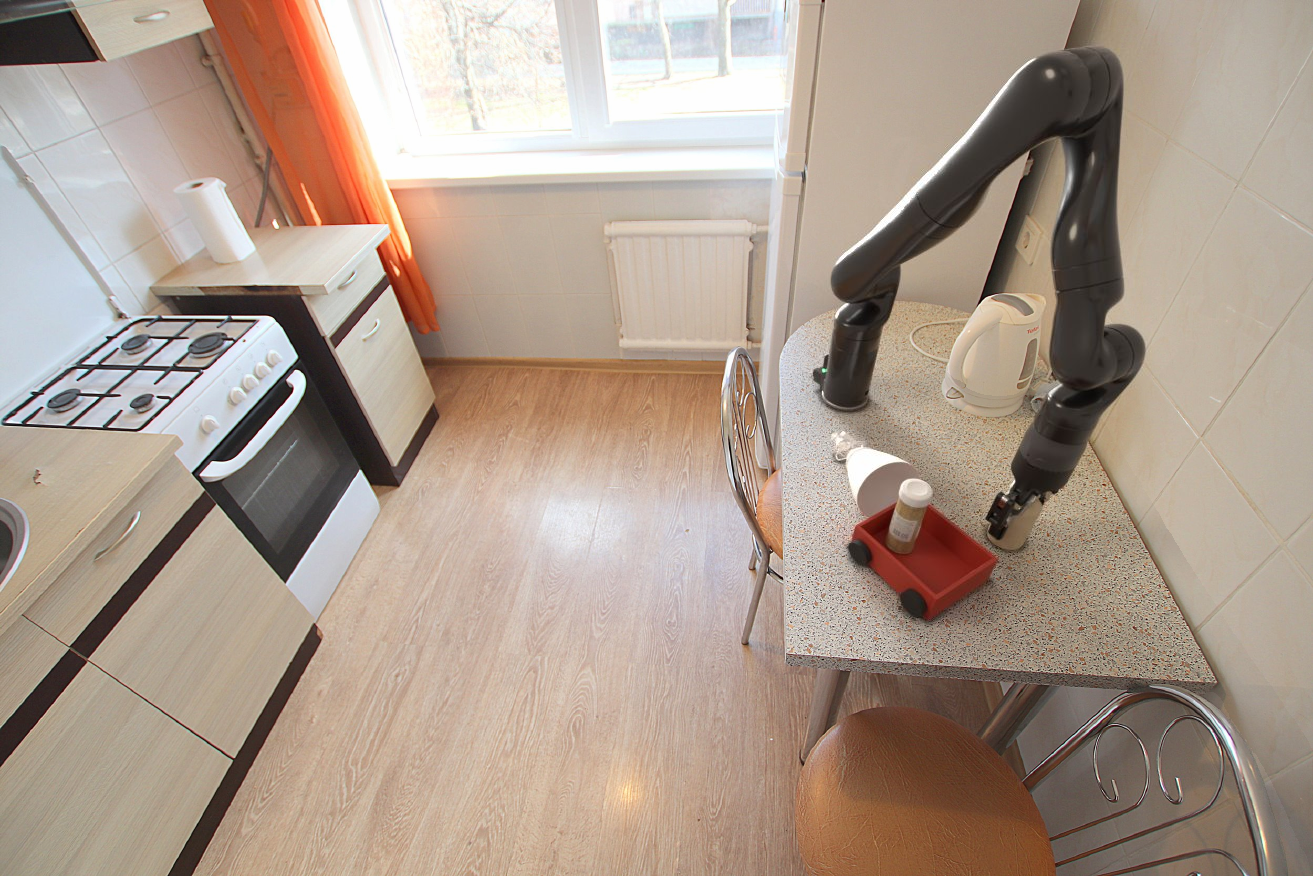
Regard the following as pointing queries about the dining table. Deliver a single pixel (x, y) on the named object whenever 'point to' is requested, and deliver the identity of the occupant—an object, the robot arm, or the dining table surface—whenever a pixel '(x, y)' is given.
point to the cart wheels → (908, 598)
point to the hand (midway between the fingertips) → (1012, 524)
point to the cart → (928, 559)
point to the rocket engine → (873, 474)
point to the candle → (1018, 528)
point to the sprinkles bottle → (908, 515)
